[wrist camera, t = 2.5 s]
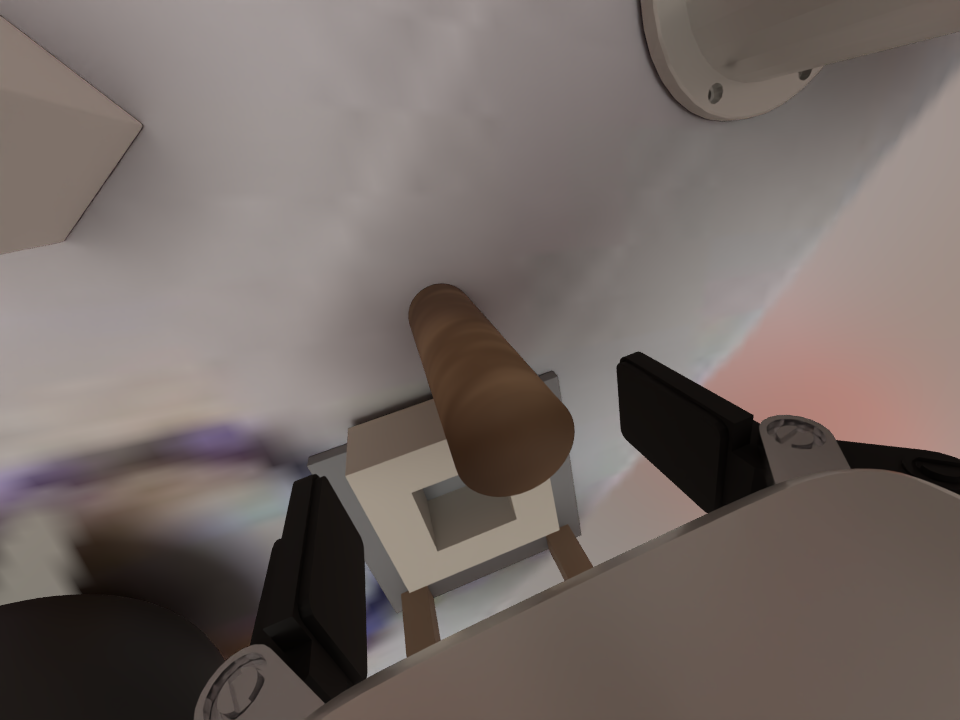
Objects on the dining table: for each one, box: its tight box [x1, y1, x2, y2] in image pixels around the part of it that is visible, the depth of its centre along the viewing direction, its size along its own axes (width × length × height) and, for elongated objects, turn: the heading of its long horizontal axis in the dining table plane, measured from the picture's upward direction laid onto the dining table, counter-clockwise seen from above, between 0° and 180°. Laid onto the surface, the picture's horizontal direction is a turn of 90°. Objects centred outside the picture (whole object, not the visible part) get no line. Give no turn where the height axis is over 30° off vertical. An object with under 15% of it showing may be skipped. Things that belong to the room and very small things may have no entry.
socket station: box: [307, 371, 593, 657], centre depth 20 cm, size 16×18×17 cm
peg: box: [408, 284, 575, 497], centre depth 16 cm, size 4×4×12 cm
